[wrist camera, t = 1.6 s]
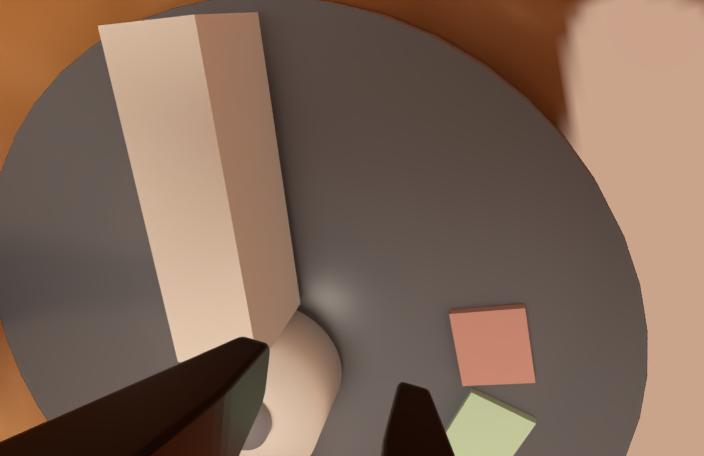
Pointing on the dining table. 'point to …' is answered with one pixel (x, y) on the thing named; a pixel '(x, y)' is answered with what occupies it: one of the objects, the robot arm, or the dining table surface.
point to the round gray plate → (351, 242)
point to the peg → (221, 209)
